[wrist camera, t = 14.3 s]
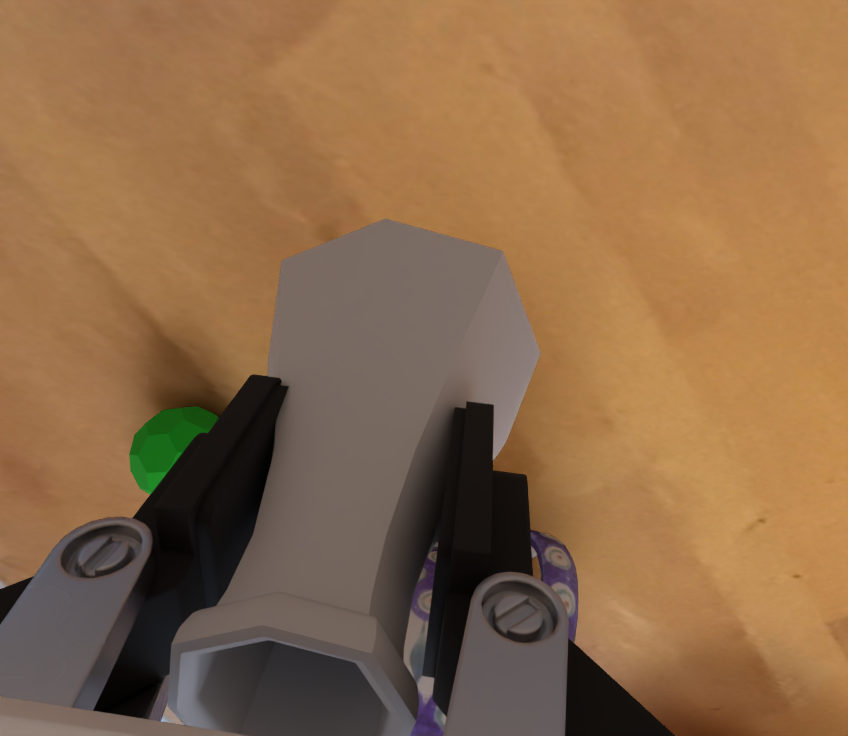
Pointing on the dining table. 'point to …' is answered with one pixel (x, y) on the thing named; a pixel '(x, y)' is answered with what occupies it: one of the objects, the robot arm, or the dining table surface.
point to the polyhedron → (165, 442)
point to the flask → (354, 482)
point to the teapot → (430, 718)
